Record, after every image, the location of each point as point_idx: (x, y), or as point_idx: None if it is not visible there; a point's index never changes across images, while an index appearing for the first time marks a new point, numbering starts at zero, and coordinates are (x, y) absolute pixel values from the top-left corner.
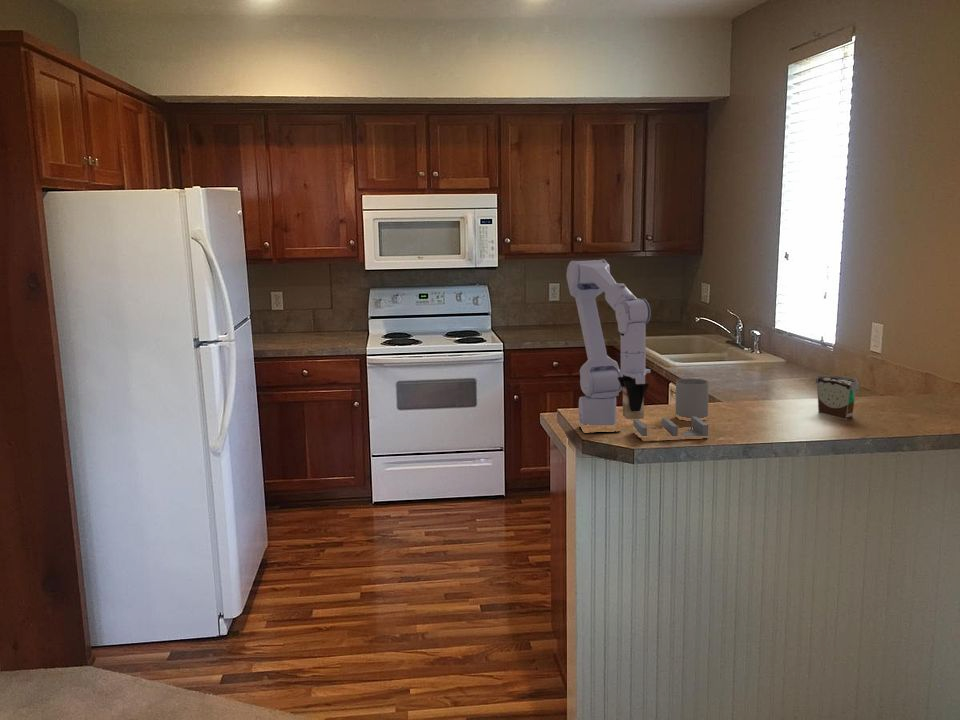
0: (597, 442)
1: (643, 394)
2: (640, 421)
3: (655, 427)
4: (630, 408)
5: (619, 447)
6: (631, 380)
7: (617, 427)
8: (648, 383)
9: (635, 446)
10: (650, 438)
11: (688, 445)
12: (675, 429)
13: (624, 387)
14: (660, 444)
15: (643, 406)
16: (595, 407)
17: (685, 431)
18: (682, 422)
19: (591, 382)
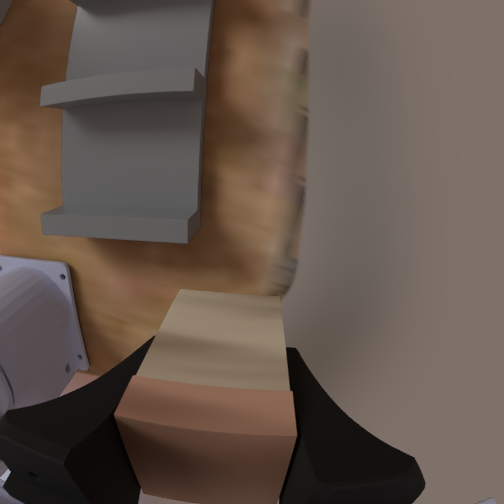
0: None
1: (349, 419)
2: (77, 216)
3: (25, 124)
4: None
5: None
6: (111, 497)
7: (17, 251)
8: (420, 477)
9: (254, 269)
10: None
11: (290, 66)
12: (197, 81)
13: (175, 496)
14: (249, 166)
15: (282, 337)
16: (32, 384)
17: (138, 31)
18: (5, 34)
19: (3, 470)
